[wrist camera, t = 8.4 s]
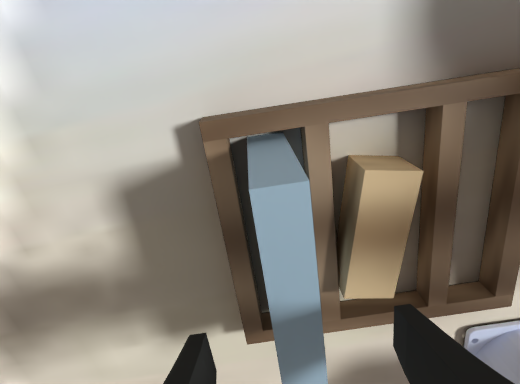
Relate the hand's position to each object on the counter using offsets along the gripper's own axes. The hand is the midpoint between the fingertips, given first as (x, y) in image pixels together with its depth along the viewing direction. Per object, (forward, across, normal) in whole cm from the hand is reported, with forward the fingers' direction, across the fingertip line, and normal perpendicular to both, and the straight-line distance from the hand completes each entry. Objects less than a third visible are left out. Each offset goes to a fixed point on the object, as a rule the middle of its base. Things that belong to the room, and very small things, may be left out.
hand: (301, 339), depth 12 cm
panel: (+9, 0, 0) cm, 9 cm away
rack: (+9, -6, 0) cm, 10 cm away
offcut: (+9, -5, 0) cm, 10 cm away
